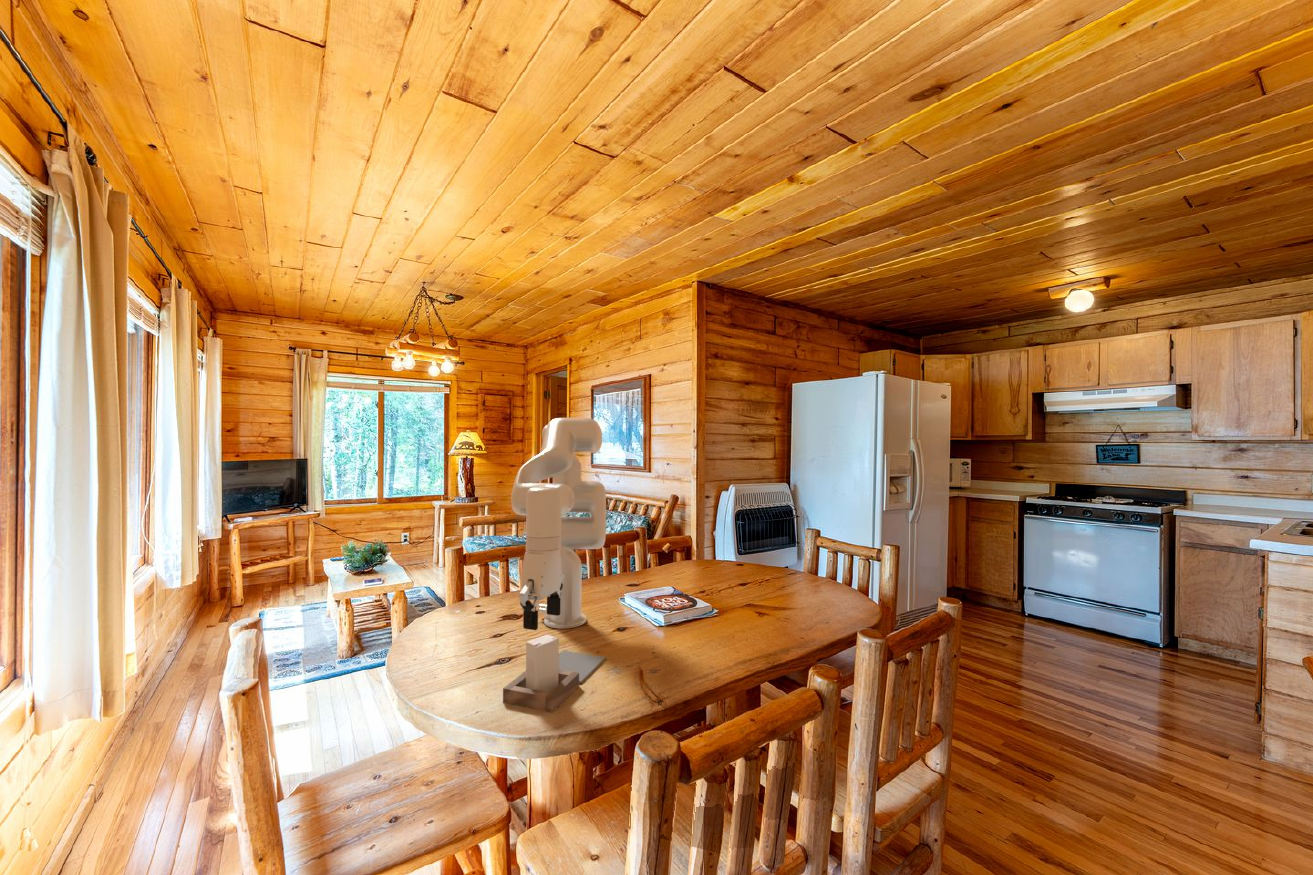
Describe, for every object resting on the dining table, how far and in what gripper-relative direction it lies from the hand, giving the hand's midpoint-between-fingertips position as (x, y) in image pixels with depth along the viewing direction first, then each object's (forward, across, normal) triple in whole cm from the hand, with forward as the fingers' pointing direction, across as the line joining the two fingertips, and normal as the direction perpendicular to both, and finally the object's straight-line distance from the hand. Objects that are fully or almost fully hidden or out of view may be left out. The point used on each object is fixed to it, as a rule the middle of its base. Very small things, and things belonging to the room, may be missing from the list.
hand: (542, 621), depth 118 cm
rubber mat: (+16, -15, 0) cm, 22 cm away
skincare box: (+16, -1, 0) cm, 17 cm away
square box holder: (+16, -1, 0) cm, 16 cm away
